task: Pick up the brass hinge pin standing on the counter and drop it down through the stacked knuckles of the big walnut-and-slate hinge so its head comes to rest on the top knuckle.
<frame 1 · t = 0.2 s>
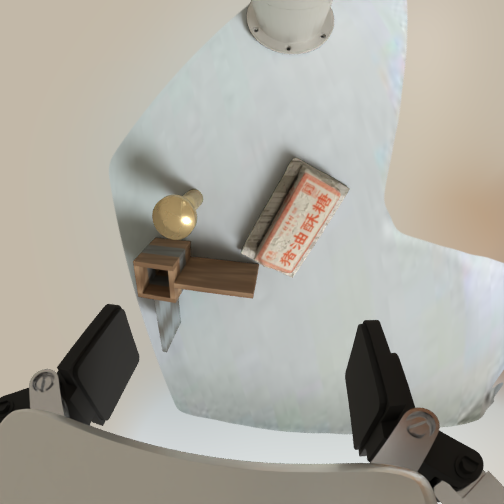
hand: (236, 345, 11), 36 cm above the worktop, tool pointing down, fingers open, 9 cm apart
packaged product: (293, 218, 47), on the worktop
hinge pin: (194, 198, 47), on the worktop
hinge: (173, 256, 52), on the worktop
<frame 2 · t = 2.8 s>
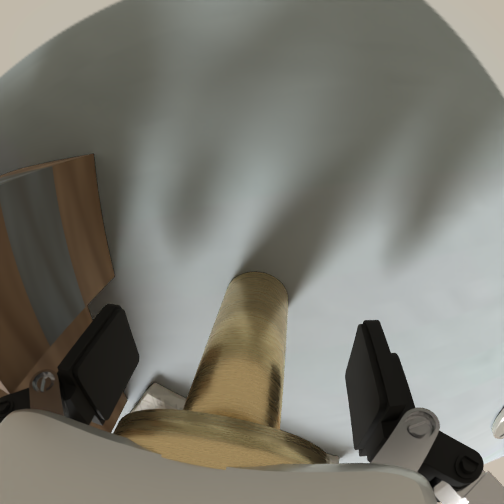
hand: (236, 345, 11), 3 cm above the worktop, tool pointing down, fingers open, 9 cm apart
packaged product: (230, 442, 22), on the worktop
hinge pin: (256, 299, 14), on the worktop
hinge: (59, 219, 14), on the worktop
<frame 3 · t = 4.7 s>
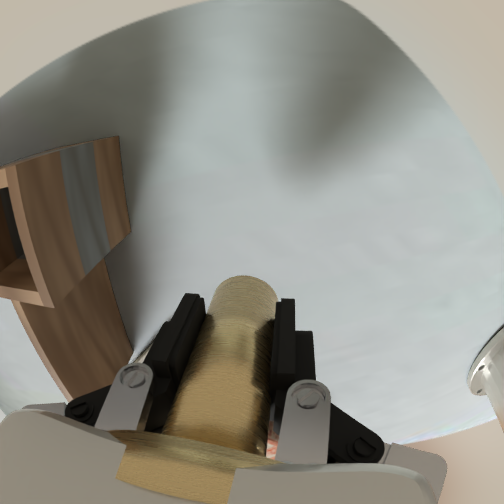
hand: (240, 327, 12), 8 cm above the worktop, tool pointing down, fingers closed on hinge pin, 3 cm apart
packaged product: (221, 393, 27), on the worktop
hinge pin: (245, 303, 13), point 6 cm above the worktop, touching gripper
hinge: (85, 188, 18), on the worktop
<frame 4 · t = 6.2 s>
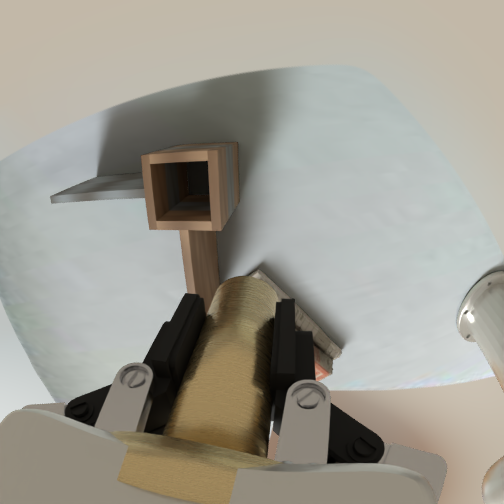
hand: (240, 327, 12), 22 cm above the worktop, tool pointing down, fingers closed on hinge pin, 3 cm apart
packaged product: (277, 328, 40), on the worktop
hinge pin: (246, 304, 13), point 20 cm above the worktop, touching gripper
hinge: (208, 172, 31), on the worktop
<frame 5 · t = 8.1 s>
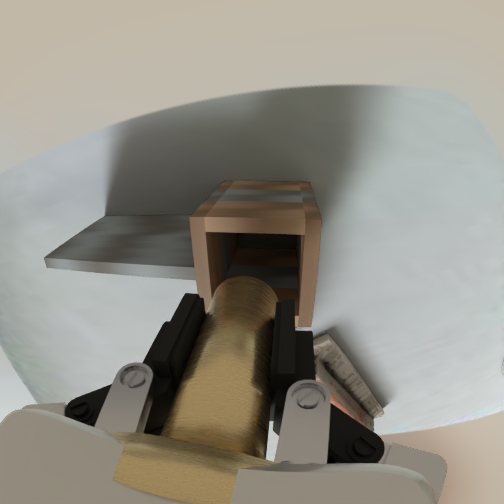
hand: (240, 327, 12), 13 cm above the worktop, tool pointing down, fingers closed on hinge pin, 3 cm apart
packaged product: (325, 388, 33), on the worktop
hinge pin: (245, 304, 13), point 12 cm above the worktop, touching gripper
hinge: (266, 220, 24), on the worktop
when the fingers open (12 cm above the worktop, at t = 9.1 s): hinge pin drops 10 cm, resting on hinge.
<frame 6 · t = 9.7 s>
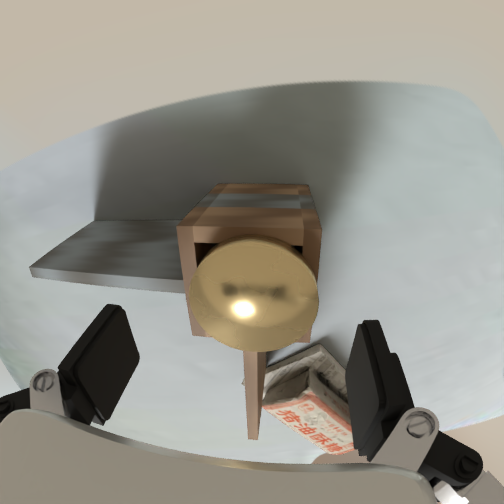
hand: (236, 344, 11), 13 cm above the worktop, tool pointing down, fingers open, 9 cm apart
packaged product: (321, 397, 32), on the worktop
hinge pin: (266, 228, 22), resting on hinge
hinge: (262, 226, 23), on the worktop
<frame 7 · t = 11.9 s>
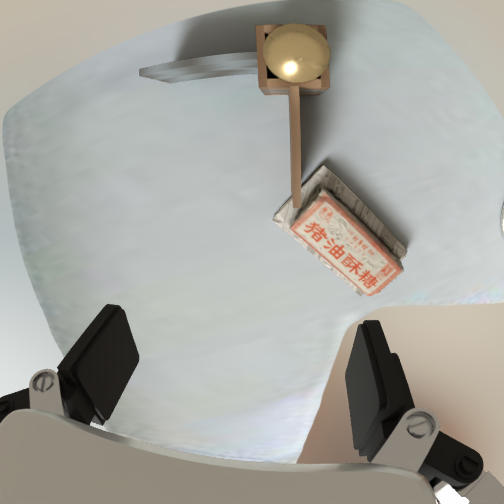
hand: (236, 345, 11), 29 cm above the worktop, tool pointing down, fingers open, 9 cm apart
packaged product: (343, 232, 40), on the worktop
hinge pin: (293, 69, 30), resting on hinge
hinge: (290, 69, 30), on the worktop
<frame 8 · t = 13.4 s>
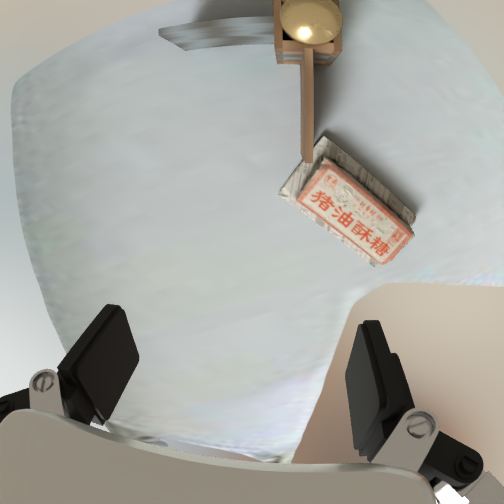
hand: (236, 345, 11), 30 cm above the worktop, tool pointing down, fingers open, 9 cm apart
packaged product: (350, 202, 39), on the worktop
hinge pin: (305, 41, 29), resting on hinge
hinge: (302, 41, 30), on the worktop
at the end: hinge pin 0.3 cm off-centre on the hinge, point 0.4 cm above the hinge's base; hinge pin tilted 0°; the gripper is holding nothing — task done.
